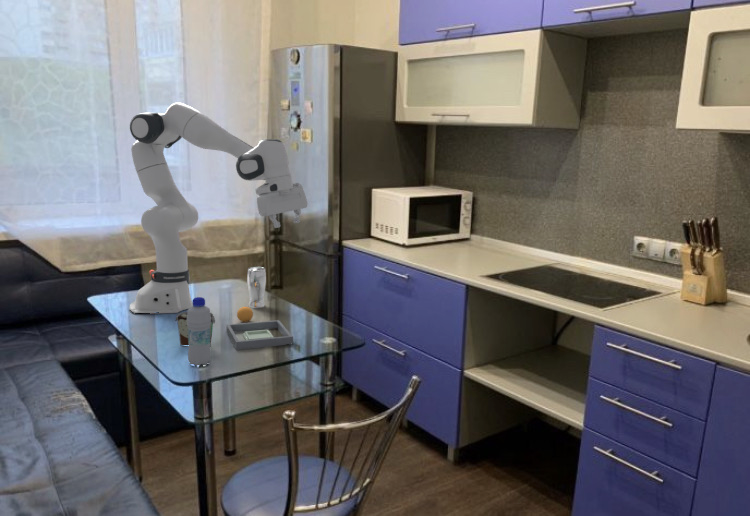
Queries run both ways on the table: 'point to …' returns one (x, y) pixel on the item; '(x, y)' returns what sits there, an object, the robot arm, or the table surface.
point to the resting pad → (257, 334)
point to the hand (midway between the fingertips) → (287, 225)
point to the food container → (183, 327)
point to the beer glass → (256, 286)
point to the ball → (244, 314)
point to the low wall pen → (258, 343)
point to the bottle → (199, 332)
